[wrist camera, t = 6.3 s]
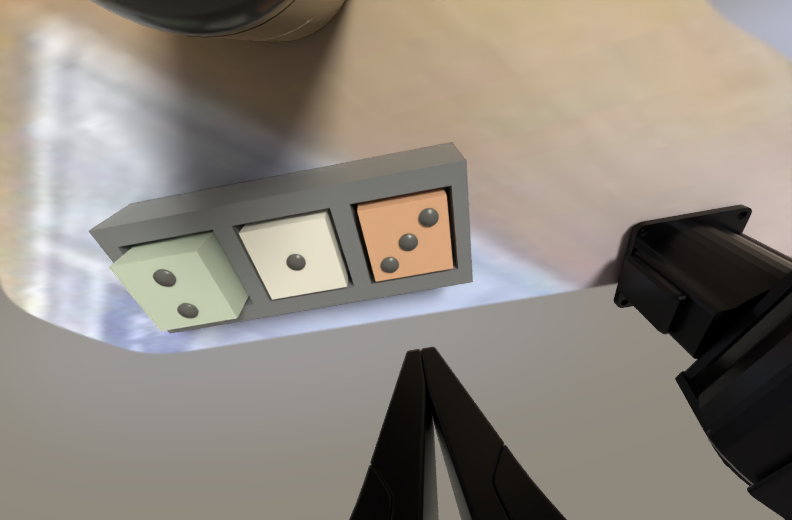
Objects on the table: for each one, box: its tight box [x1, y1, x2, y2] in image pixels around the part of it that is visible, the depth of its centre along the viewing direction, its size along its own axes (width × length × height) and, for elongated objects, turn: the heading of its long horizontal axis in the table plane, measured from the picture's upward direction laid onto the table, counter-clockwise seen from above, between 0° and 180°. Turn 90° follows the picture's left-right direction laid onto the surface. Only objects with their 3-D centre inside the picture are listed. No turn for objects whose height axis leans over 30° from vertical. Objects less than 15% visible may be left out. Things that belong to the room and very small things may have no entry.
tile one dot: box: [239, 208, 349, 300], centre depth 17 cm, size 4×4×3 cm
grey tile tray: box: [89, 142, 473, 333], centre depth 17 cm, size 17×7×3 cm, turn 100°
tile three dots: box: [357, 187, 453, 282], centre depth 16 cm, size 4×4×3 cm
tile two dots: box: [109, 230, 249, 331], centre depth 16 cm, size 4×4×3 cm
